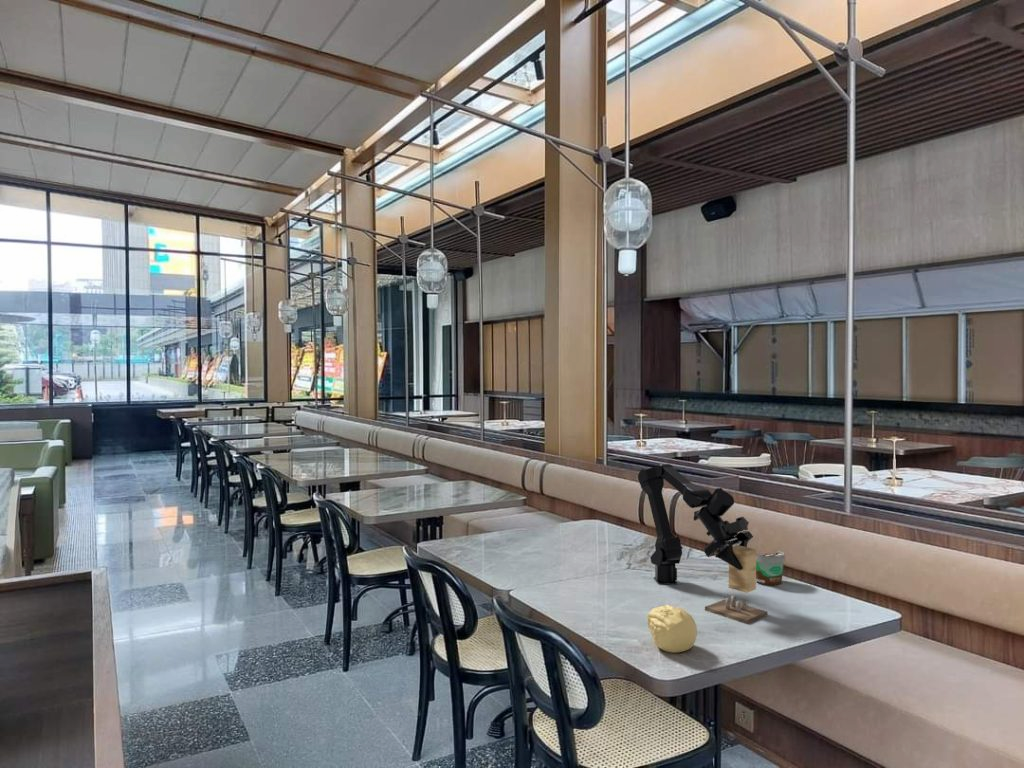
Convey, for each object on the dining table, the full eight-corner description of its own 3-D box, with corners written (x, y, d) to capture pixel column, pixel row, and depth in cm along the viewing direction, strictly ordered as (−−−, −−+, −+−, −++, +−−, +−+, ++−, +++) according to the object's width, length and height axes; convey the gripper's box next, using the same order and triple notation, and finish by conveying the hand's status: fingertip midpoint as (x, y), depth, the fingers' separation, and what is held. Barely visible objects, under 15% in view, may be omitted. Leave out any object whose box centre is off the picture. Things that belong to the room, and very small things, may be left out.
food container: (767, 589, 218) (768, 559, 218) (753, 583, 224) (753, 554, 224) (793, 583, 224) (793, 554, 224) (778, 578, 230) (778, 550, 229)
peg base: (704, 610, 199) (704, 596, 199) (726, 602, 206) (726, 589, 206) (746, 623, 188) (746, 609, 188) (767, 615, 195) (767, 601, 195)
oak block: (728, 587, 199) (729, 548, 199) (737, 584, 202) (738, 545, 202) (746, 592, 194) (747, 552, 194) (755, 589, 197) (756, 549, 197)
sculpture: (640, 643, 175) (640, 602, 174) (676, 635, 180) (677, 596, 179) (668, 660, 164) (668, 617, 164) (705, 651, 169) (706, 610, 169)
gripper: (713, 513, 195) (747, 558, 186) (747, 504, 207) (780, 547, 198) (690, 534, 201) (722, 579, 193) (725, 525, 213) (756, 567, 205)
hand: (746, 567), depth 197 cm, fingers closed on oak block, 5 cm apart
